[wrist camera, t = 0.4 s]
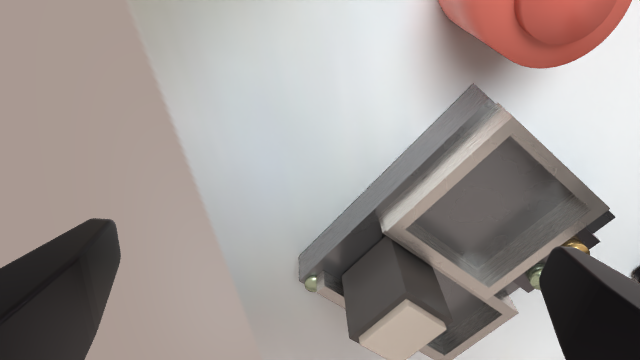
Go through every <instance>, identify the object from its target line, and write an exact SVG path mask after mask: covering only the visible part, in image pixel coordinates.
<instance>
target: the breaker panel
mask: <svg viewBox="0 0 640 360" xmlns="http://www.w3.org/2000/svg"><path fill="white" fill-rule="evenodd" d="M609 209H610V208H609V207H608V206H607V205H606V204H605V203H604V202H603V201H602V200H601V199H600V198H598V197H597V196H596V195H595V194H594V193H593V192H592V191H591V190H590V189H589V188H588V187H587V186H586V185H585V184H584V183H583V182H582V181H581V180H580V179H578V178H577V177H576V176H575V175H574V174H573V173H572V172H571V171H570V170H569V169H568V168H567V167H566V166H565V165H564V164H563V163H562V162H561V161H560V160H558V159H557V158H556V157H555V156H554V155H553V154H552V153H551V152H550V151H549V150H548V149H547V148H546V147H545V146H544V145H543V144H542V143H541V142H539V141H538V140H537V139H536V138H535V137H534V136H533V135H532V134H531V133H530V132H529V131H528V130H527V129H526V128H525V127H524V126H523V125H522V124H521V123H519V122H518V121H517V120H516V119H515V118H514V117H513V116H512V115H511V114H510V113H509V112H508V111H507V110H506V109H504V108H503V107H502V106H501V105H500V104H499V103H497V104H495V103H494V102H493V101H492V100H491V99H490V98H489V97H488V96H487V95H486V94H485V93H483V92H482V91H481V90H480V89H479V88H478V87H477V86H476V85H475V84H473V85H472V86H471V87H470V88H469V89H468V90H467V91H466V92H465V93H463V94H462V95H461V96H460V97H459V98H458V99H457V100H456V101H455V102H454V103H453V104H452V105H451V106H450V107H449V108H448V109H447V110H446V111H445V112H444V113H443V114H442V115H441V116H440V117H439V118H438V119H437V120H436V121H435V122H434V123H433V124H432V125H431V126H430V127H429V128H428V129H427V130H426V131H425V132H424V133H423V134H422V135H421V136H420V137H419V138H418V139H417V140H416V141H415V142H414V143H413V144H412V145H411V146H410V147H409V148H408V149H407V150H406V151H405V152H404V153H403V154H402V155H401V156H400V157H399V158H398V159H397V160H396V161H395V162H394V163H393V164H392V165H391V166H390V167H389V168H388V169H387V170H386V171H385V172H384V173H383V174H382V175H381V176H380V177H379V178H378V179H377V180H376V181H375V182H374V183H372V184H371V185H370V186H369V187H368V188H367V189H366V190H365V191H364V192H363V193H362V194H361V195H360V196H359V197H358V198H357V199H356V200H355V201H354V202H353V203H352V204H351V205H350V206H349V207H348V208H347V209H346V210H345V211H344V212H343V213H342V214H341V215H340V216H339V217H338V218H337V219H336V220H335V221H334V222H333V223H332V224H331V225H330V226H329V227H328V228H327V229H326V230H325V231H324V232H323V233H322V234H321V235H320V236H319V237H318V238H317V239H316V240H315V241H314V242H313V243H312V244H311V245H310V246H309V247H308V248H307V249H306V250H305V251H304V252H303V253H302V254H301V255H300V256H299V281H300V282H302V283H304V284H305V288H306V289H307V290H308V291H311V292H317V293H318V294H320V295H322V296H323V297H325V298H327V299H329V300H330V301H332V302H334V303H336V304H337V305H339V306H341V307H343V308H344V309H346V308H345V300H344V292H343V283H342V275H343V274H344V273H345V272H346V271H348V270H349V269H350V268H351V267H352V266H353V265H354V264H355V263H356V262H357V261H359V260H360V259H361V258H362V257H363V256H364V255H365V254H366V253H367V252H368V251H370V250H371V249H372V248H373V247H374V246H375V245H376V244H377V243H378V242H379V241H381V240H382V239H383V238H384V237H385V236H386V235H387V236H388V237H389V238H391V239H392V240H394V241H395V242H397V243H398V244H400V245H401V246H403V247H404V248H406V249H407V250H409V251H410V252H412V253H413V254H415V255H416V256H417V257H419V258H420V259H422V260H423V261H425V262H426V263H428V264H429V265H431V266H432V267H433V270H434V272H435V275H436V277H437V280H438V282H439V285H440V288H441V290H442V293H443V295H444V298H445V300H446V303H447V306H448V308H449V311H450V313H451V316H452V318H453V322H452V323H451V324H449V325H448V326H447V327H446V329H447V330H445V331H444V332H443V333H441V334H440V335H438V336H437V337H436V338H434V339H433V340H432V341H430V342H429V343H428V344H426V345H425V346H424V347H422V348H421V349H420V350H418V351H420V352H422V353H423V354H425V355H427V356H429V357H430V358H432V359H434V360H452V359H454V358H455V357H456V356H458V355H459V354H461V353H462V352H464V351H465V350H466V349H468V348H469V347H471V346H472V345H474V344H475V343H476V342H478V341H479V340H481V339H482V338H484V337H485V336H486V335H488V334H489V333H491V332H492V331H493V330H495V329H496V328H498V327H499V326H501V325H502V324H503V323H505V322H506V321H508V320H509V319H511V318H512V317H513V316H515V315H516V314H518V311H517V309H516V307H515V306H514V304H513V302H512V300H511V299H510V297H509V296H508V295H510V294H511V293H512V292H514V291H515V290H517V289H518V288H519V287H521V288H522V289H524V290H525V291H526V292H528V293H529V292H531V291H532V290H533V289H538V290H541V289H540V285H539V277H540V273H541V271H542V269H543V267H544V265H545V263H546V260H547V258H548V256H549V254H550V252H551V250H552V249H553V248H555V247H557V246H564V247H575V248H577V249H579V250H581V251H583V252H585V253H586V254H588V255H590V251H589V249H591V248H592V247H593V246H595V245H596V244H598V243H599V242H600V241H599V239H598V238H597V237H596V236H595V235H594V234H593V233H595V232H596V231H597V230H599V229H600V228H602V227H603V226H604V225H606V224H607V223H608V222H610V221H611V220H613V219H614V218H615V216H614V215H613V214H612V213H611V212H610V211H609Z"/></svg>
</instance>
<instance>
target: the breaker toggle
mask: <svg viewBox="0 0 640 360" xmlns="http://www.w3.org/2000/svg"><path fill="white" fill-rule="evenodd" d="M342 283H343V292H344V300H345V308H346V316H347V324H348V332H349V338H350V339H352V340H354V341H356V342H357V343H359V344H360V345H361V346H363V347H365V348H367V349H369V350H371V351H373V352H374V353H376V354H378V355H380V356H382V357H384V358H386V359H387V360H406V359H407V358H409V357H410V356H412V355H413V354H414V353H416V352H417V351H418V350H420V349H421V348H422V347H424V346H425V345H426V344H428V343H429V342H430V341H432V340H433V339H434V338H436V337H437V336H438V335H440V334H441V333H443V332H444V331H445V330H447V329H446V327H447V326H448V325H449V324H451V323H452V322H453V318H452V316H451V313H450V311H449V308H448V306H447V303H446V300H445V298H444V295H443V293H442V290H441V288H440V285H439V282H438V280H437V277H436V275H435V272H434V270H433V267H432V266H431V265H429V264H428V263H426V262H425V261H423V260H422V259H420V258H419V257H417V256H416V255H415V254H413V253H412V252H410V251H409V250H407V249H406V248H404V247H403V246H401V245H400V244H398V243H397V242H395V241H394V240H392V239H391V238H389V237H388V236H387V235H386V236H385V237H384V238H383V239H382V240H381V241H379V242H378V243H377V244H376V245H375V246H374V247H373V248H372V249H371V250H370V251H368V252H367V253H366V254H365V255H364V256H363V257H362V258H361V259H360V260H359V261H357V262H356V263H355V264H354V265H353V266H352V267H351V268H350V269H349V270H348V271H346V272H345V273H344V274H343V275H342Z"/></svg>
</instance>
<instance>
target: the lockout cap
mask: <svg viewBox="0 0 640 360" xmlns="http://www.w3.org/2000/svg"><path fill="white" fill-rule="evenodd" d="M438 1H439V4H440V6H441V8H442V10H443V11H444V13H445V14H446V16H447V17H448V18H449V19H450V20H451V21H452V22H454V23H455V24H456V25H458V26H459V27H461V28H462V29H464V30H465V31H467V32H468V33H470V34H471V35H473V36H474V37H476V38H477V39H479V40H480V41H482V42H483V43H485V44H486V45H488V46H489V47H491V48H492V49H494V50H495V51H497V52H498V53H500V54H501V55H503V56H504V57H506V58H507V59H509V60H511V61H512V62H514V63H517V64H519V65H521V66H525V67H529V68H551V67H557V66H560V65H564V64H567V63H569V62H572V61H574V60H576V59H578V58H580V57H582V56H584V55H585V54H587V53H588V52H590V51H591V50H593V49H594V48H595V47H597V46H598V45H599V44H600V43H602V42H603V41H604V40H605V39H606V38H607V37H608V36H609V35H610V34H611V32H612V31H613V30H614V29H615V28H616V26H617V25H618V24H619V22H620V21H621V19H622V18H623V16H624V15H625V13H626V11H627V9H628V8H629V6H630V3H631V1H632V0H438Z"/></svg>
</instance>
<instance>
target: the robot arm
mask: <svg viewBox="0 0 640 360" xmlns="http://www.w3.org/2000/svg"><path fill="white" fill-rule="evenodd" d="M120 257H121V255H120V246H119V240H118V234H117V228H116V224H115V222H114V221H112V220H110V219H96V218H95V219H94V218H93V219H89V220H87V221H86V222H84V223H82V224H80V225H78V226H77V227H75V228H73V229H71V230H69V231H67V232H66V233H64V234H62V235H60V236H58V237H56V238H55V239H53V240H51V241H50V242H47V243H46V244H44V245H42V246H40V247H38V248H36V249H35V250H33V251H31V252H29V253H27V254H26V255H24V256H22V257H20V258H18V259H16V260H15V261H13V262H11V263H9V264H7V265H6V266H4V267H2V268H0V360H84V359H85V357H86V355H87V353H88V351H89V349H90V346H91V344H92V342H93V340H94V337H95V335H96V332H97V330H98V327H99V324H100V321H101V318H102V315H103V312H104V309H105V306H106V303H107V300H108V297H109V294H110V291H111V288H112V285H113V282H114V279H115V275H116V273H117V270H118V267H119V263H120ZM634 277H635V279H636V280H637V281H638V282H639V283H640V268H639V269H638V270H637V271H636V272H635V273H634ZM639 283H637V282H635V281H633V280H632V279H630V278H628V277H626V276H625V275H623V274H621V273H619V272H618V271H616V270H614V269H612V268H611V267H609V266H607V265H605V264H604V263H602V262H600V261H599V260H597V259H595V258H593V257H592V256H590V255H588V254H586V253H585V252H583V251H581V250H579V249H577V248H575V247H564V246H557V247H555V248H553V249H552V250H551V252H550V254H549V256H548V258H547V260H546V263H545V265H544V267H543V269H542V271H541V273H540V277H539V285H540V289H541V292H542V295H543V298H544V301H545V303H546V306H547V309H548V312H549V315H550V318H551V321H552V324H553V327H554V330H555V333H556V335H557V338H558V341H559V344H560V346H561V349H562V352H563V354H564V356H565V359H566V360H640V284H639Z"/></svg>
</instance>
